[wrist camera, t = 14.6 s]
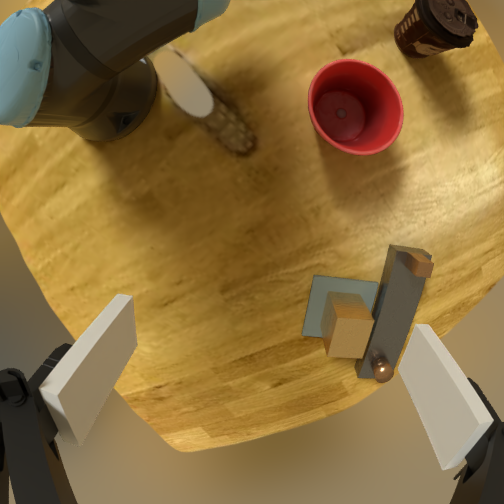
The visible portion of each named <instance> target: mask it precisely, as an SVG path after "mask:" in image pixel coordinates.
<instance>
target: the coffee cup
mask: <svg viewBox="0 0 504 504" xmlns="http://www.w3.org/2000/svg"><path fill="white" fill-rule="evenodd" d="M476 28H478V23H477V18H476V16H475V15H474V13H473V12H472V10H471V8H470V6H469V4H468V2H466V1H465V0H415V3H414V4H413V6H412V8H411V9H410V11H409V12H408V13H407V14H406V15H405V16H404V18H403V20H402V21H400V23H399V24H397V25H396V26H395V29H394V38H395V42H396V44H397V46H398V47H399V49H400V50H401V51H402V52H403V53H405V54H406V55H408V56H409V57H412V58H417V59H418V58H425V57H427V56H429V55H435V54H438V53H441V52H444V51H448V50H450V49H454V48H465V47H469V46H470V44H471V42H472V41H473V34H474V32H476V31H475V29H476Z"/></svg>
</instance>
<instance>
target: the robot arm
mask: <svg viewBox="0 0 504 504" xmlns="http://www.w3.org/2000/svg"><path fill="white" fill-rule="evenodd" d="M229 2H230V0H54V1H53V2H52V3H51V4H50V5H49V6H47V7H46V8H45V9H44V10H43V11H42V10H41V9H39V8H26V9H24V10H19V11H17V12H15V13H13V14H12V15H11V16H10V17H8V18H7V19H6V20H5V21H4V22H3V23H2V25H1V26H0V125H11V126H14V127H16V128H22V127H68V128H70V129H71V130H72V131H74V132H75V133H77V134H78V135H79V136H81V137H83V138H85V139H88V140H92V141H112V140H116V139H119V138H122V137H124V136H126V135H127V134H129V133H130V132H132V131H133V130H134V129H135V128H137V127H138V126H139V125H140V124H141V122H142V121H143V120H144V119H145V117H146V116H147V114H148V113H149V111H150V109H151V107H152V104H153V102H154V99H155V95H156V89H157V77H156V72H155V69H154V66H153V64H152V62H151V61H150V59H149V58H148V57H147V55H149V54H150V53H152V52H154V51H155V50H157V49H159V48H160V47H162V46H164V45H166V44H167V43H169V42H171V41H173V40H175V39H176V38H178V37H180V36H182V35H184V34H186V33H187V32H190V33H192V32H194V31H196V30H197V29H198V28H199V26H201V25H203V24H205V23H207V22H209V21H211V20H213V19H214V18H216V17H218V16H220V15H221V14H223V13H224V12H225V11H226V9H227V7H228V5H229ZM137 345H138V344H137V336H136V326H135V316H134V304H133V296H129V295H123V294H117V295H116V296H115V297H114V298H113V300H112V301H111V302H110V303H109V304H108V305H107V306H106V307H105V309H104V310H103V311H102V312H101V313H100V314H99V315H98V317H97V318H96V319H95V320H94V321H93V322H92V323H91V325H90V326H89V327H88V328H87V329H86V330H85V332H84V333H83V334H82V335H81V336H80V337H79V339H78V340H77V341H76V342H75V344H74V345H70V344H67V343H65V344H63V345H61V346H60V347H58V348H56V349H55V350H54V351H53V352H52V354H51V355H50V356H49V358H48V359H46V360H45V362H44V363H43V365H41V366H40V367H39V369H38V370H37V371H36V372H35V373H34V375H33V376H32V377H31V378H30V379H29V381H28V382H27V381H26V378H25V376H24V374H23V373H22V372H21V371H20V370H18V369H15V368H7V369H5V370H1V371H0V504H9V476H10V480H11V485H12V489H13V494H14V497H15V501H16V504H77V501H76V499H75V496H74V494H73V491H72V489H71V486H70V483H69V480H68V478H67V475H66V472H65V469H64V466H63V463H62V460H61V457H60V454H59V450H58V447H57V443H56V441H55V439H54V437H55V436H56V434H57V432H59V434H60V436H61V437H62V439H63V441H65V442H68V443H70V444H73V445H75V446H78V447H81V446H82V444H83V442H84V440H85V438H86V436H87V434H88V432H89V431H90V429H91V427H92V425H93V423H94V421H95V419H96V418H97V416H98V414H99V412H100V410H101V408H102V407H103V405H104V403H105V401H106V399H107V397H108V395H109V394H110V392H111V390H112V389H113V387H114V385H115V383H116V382H117V380H118V378H119V376H120V375H121V373H122V371H123V369H124V368H125V366H126V364H127V362H128V361H129V359H130V357H131V355H132V354H133V352H134V350H135V349H136V347H137ZM398 371H399V373H400V375H401V377H402V379H403V381H404V383H405V385H406V387H407V390H408V392H409V394H410V396H411V398H412V400H413V403H414V405H415V407H416V409H417V411H418V414H419V416H420V418H421V421H422V423H423V425H424V427H425V430H426V432H427V434H428V437H429V439H430V441H431V444H432V446H433V449H434V451H435V454H436V456H437V459H438V461H439V464H440V466H441V468H442V470H445V469H449V468H453V467H457V466H458V465H459V463H460V462H461V461H462V460H463V459H464V458H465V459H466V461H467V464H466V465H465V466H464V467H463V468H462V469H461V471H459V473H458V474H457V475H456V476H455V477H454V480H456V479H457V478H458V477H459V476H460V475H461V476H460V479H459V481H458V484H457V487H456V489H455V492H454V495H453V497H452V499H451V502H450V504H504V422H501V420H500V418H499V417H498V415H497V414H496V412H495V410H494V409H493V407H492V406H491V404H490V403H489V401H487V398H486V397H485V395H484V394H483V392H482V391H481V389H480V388H479V386H478V385H477V384H476V383H475V382H473V380H472V379H470V378H466V376H465V375H464V373H463V372H462V370H461V369H460V368H459V366H458V365H457V363H456V362H455V360H454V359H453V357H452V356H451V355H450V353H449V352H448V351H447V349H446V348H445V346H444V345H443V344H442V342H441V341H440V339H439V338H438V337H437V335H436V334H435V333H434V331H433V330H432V329H431V327H430V326H429V325H428V324H415V327H414V330H413V332H412V335H411V338H410V340H409V343H408V345H407V348H406V350H405V353H404V355H403V357H402V360H401V362H400V365H399V367H398Z"/></svg>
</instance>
